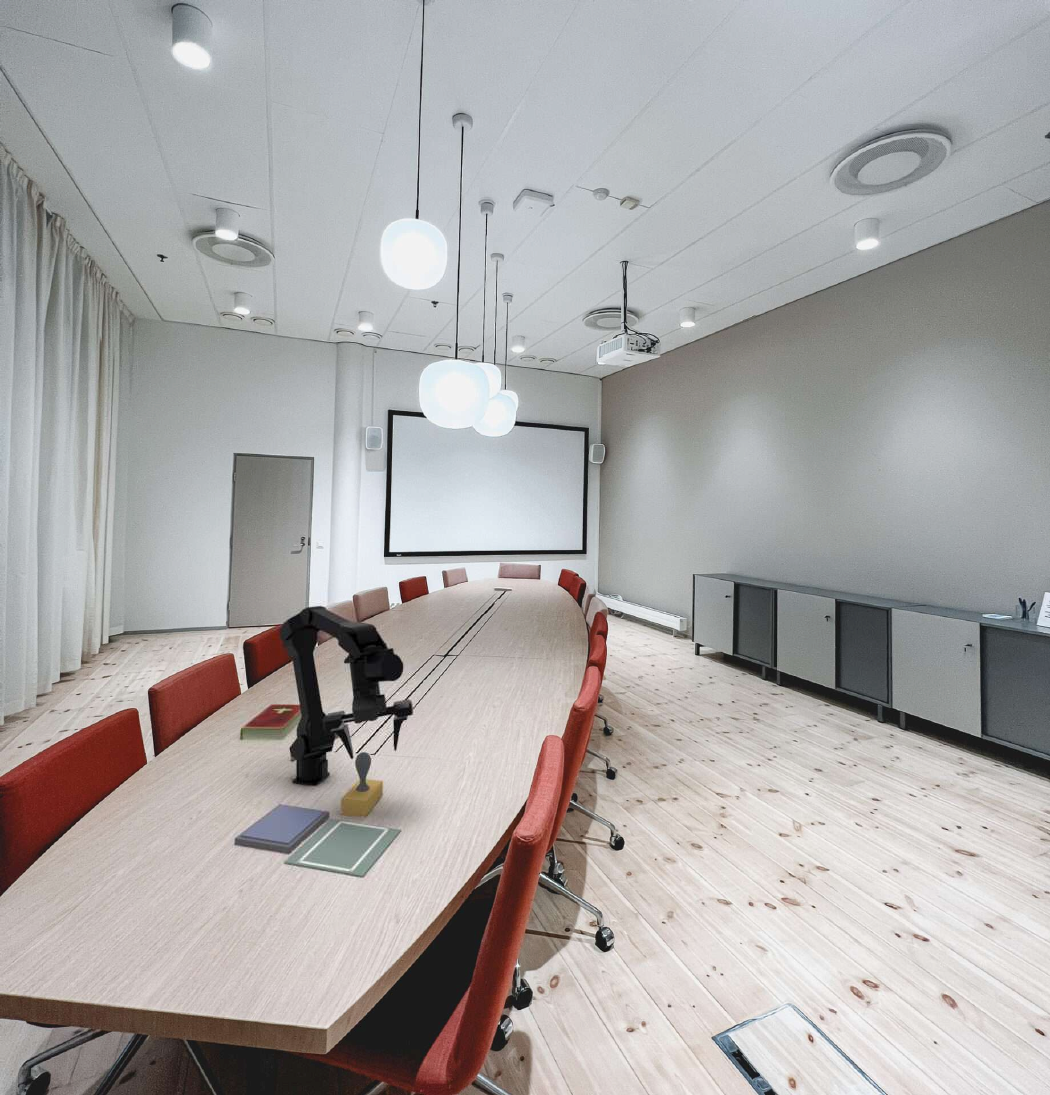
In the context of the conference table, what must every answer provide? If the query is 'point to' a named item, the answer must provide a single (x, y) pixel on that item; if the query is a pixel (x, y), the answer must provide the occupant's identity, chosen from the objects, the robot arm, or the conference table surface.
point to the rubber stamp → (362, 790)
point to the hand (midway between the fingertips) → (374, 754)
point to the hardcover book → (272, 723)
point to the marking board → (344, 847)
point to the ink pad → (282, 828)
